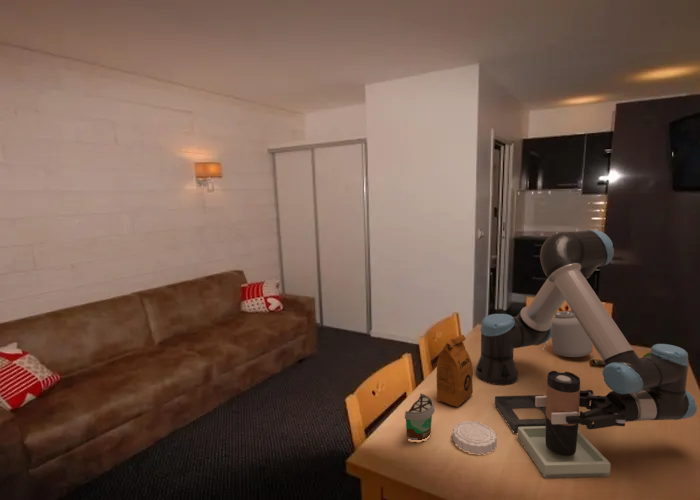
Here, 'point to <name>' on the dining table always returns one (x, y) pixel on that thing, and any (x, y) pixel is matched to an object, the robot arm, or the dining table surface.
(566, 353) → the jar
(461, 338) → the coffee package
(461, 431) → the mooncake
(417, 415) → the food container
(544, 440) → the tray
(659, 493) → the dining table surface
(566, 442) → the travel mug
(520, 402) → the holder frame
